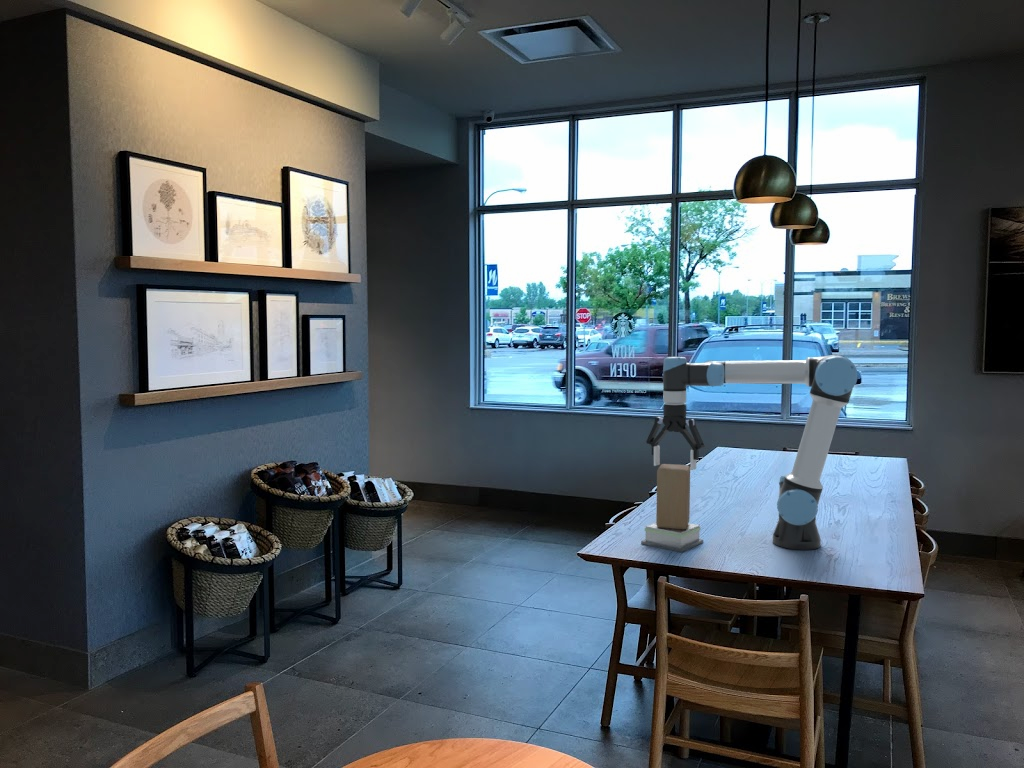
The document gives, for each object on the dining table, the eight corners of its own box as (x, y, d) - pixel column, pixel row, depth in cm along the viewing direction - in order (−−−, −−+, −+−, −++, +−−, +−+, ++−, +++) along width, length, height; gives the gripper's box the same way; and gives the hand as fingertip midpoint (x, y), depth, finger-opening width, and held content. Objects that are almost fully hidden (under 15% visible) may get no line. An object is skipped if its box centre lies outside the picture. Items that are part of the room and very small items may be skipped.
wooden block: (689, 523, 271) (690, 464, 269) (686, 530, 261) (687, 469, 260) (659, 521, 274) (660, 463, 272) (655, 528, 264) (656, 468, 263)
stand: (703, 542, 269) (703, 525, 268) (681, 552, 258) (682, 534, 257) (663, 535, 279) (664, 518, 278) (641, 544, 267) (641, 526, 267)
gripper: (714, 404, 259) (714, 469, 261) (647, 400, 275) (647, 462, 277) (704, 406, 254) (704, 472, 255) (636, 402, 270) (636, 465, 271)
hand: (674, 467), depth 266 cm, fingers open, 13 cm apart
